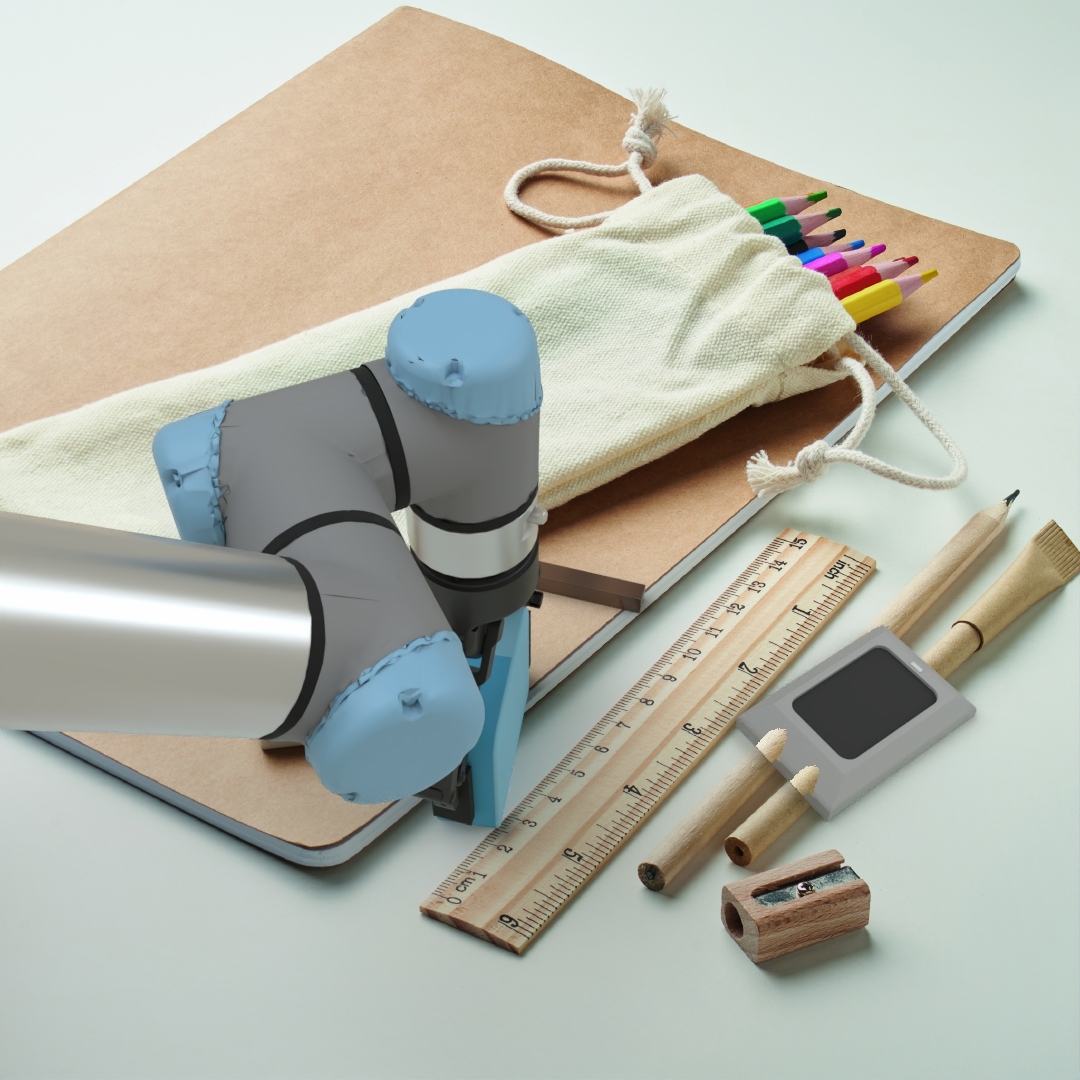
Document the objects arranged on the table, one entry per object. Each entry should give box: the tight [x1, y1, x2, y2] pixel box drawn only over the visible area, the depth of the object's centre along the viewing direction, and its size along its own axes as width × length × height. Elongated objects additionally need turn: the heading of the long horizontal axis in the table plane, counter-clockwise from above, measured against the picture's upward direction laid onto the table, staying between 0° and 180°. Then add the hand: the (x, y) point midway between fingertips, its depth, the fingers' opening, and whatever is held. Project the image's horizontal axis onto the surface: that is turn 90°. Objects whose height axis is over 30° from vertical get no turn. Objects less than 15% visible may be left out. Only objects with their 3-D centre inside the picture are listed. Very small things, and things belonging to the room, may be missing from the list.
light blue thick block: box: [436, 606, 530, 829], centre depth 84 cm, size 12×4×12 cm, turn 171°
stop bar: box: [535, 560, 646, 614], centre depth 97 cm, size 10×2×3 cm, turn 74°
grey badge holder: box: [734, 624, 978, 822], centre depth 89 cm, size 10×4×15 cm
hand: (484, 736), depth 86 cm, fingers closed on light blue thick block, 12 cm apart
